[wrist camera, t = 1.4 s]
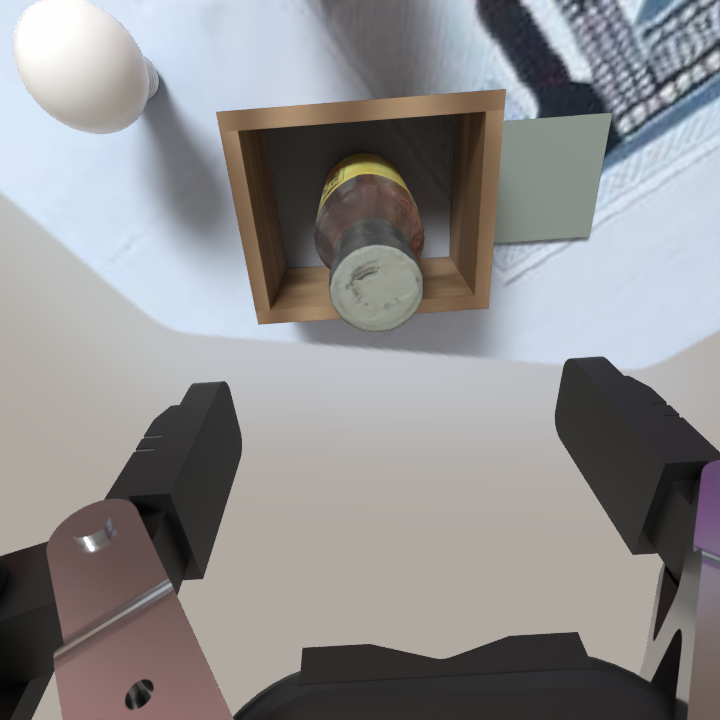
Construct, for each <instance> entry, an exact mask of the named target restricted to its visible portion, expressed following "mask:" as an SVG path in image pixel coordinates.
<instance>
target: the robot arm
mask: <svg viewBox="0 0 720 720" xmlns="http://www.w3.org/2000/svg"><path fill="white" fill-rule="evenodd" d="M555 425H556V430H557V432H558V436H559V438H560V440H561V441H562V443H563V445H564V446H565V448H566V449H567V451H568V453H569V454H570V456H571V457H572V459H573V460H574V462H575V464H576V465H577V467H578V468H579V470H580V472H581V473H582V475H583V476H584V478H585V480H586V481H587V483H588V484H589V486H590V488H591V489H592V491H593V492H594V494H595V496H596V497H597V499H598V500H599V502H600V504H601V505H602V507H603V508H604V510H605V511H606V513H607V514H608V516H609V518H610V519H611V521H612V523H613V524H614V526H615V527H616V529H617V531H618V532H619V534H620V535H621V537H622V539H623V540H624V542H625V543H626V545H627V546H628V548H629V550H630V551H631V553H632V554H633V555H638V554H654V553H658V554H659V556H660V557H661V559H662V560H663V562H664V563H663V566H662V568H661V571H660V573H659V579H658V584H657V590H656V596H655V601H654V607H653V613H652V618H651V624H650V630H649V635H648V641H647V647H646V652H645V657H644V661H643V664H642V668H641V671H640V674H639V676H638V675H637V674H635V673H633V672H631V671H629V670H626V669H624V668H622V667H620V666H617V665H615V664H612V663H609V662H606V661H603V660H600V659H597V658H594V657H589V656H588V655H587V653H586V651H585V648H584V646H583V644H582V641H581V639H580V636H579V634H578V632H570V633H553V634H536V635H519V636H508V637H505V638H503V639H500V640H497V641H494V642H492V643H489V644H486V645H483V646H481V647H478V648H475V649H472V650H470V651H467V652H464V653H461V654H459V655H456V656H453V657H450V658H447V659H435V658H430V657H426V656H421V655H417V654H412V653H408V652H403V651H399V650H394V649H390V648H385V647H380V646H376V645H372V644H363V645H345V646H328V647H310V648H303V650H302V661H301V671H299V672H296V673H294V674H291V675H289V676H287V677H285V678H283V679H281V680H279V681H277V682H275V683H273V684H272V685H270V686H269V687H267V688H266V689H264V690H263V691H261V692H260V693H258V694H257V695H256V696H255V697H254V698H252V699H251V700H250V701H249V702H248V703H246V704H245V705H244V706H243V707H242V708H241V709H240V710H239V711H238V712H237V713H236V714H235V715H234V716H233V717H232V714H231V712H230V710H229V708H228V706H227V703H226V701H225V699H224V697H223V695H222V693H221V690H220V688H219V686H218V684H217V682H216V680H215V677H214V675H213V673H212V671H211V669H210V666H209V664H208V662H207V660H206V658H205V656H204V653H203V651H202V649H201V647H200V645H199V643H198V640H197V638H196V636H195V634H194V632H193V629H192V627H191V625H190V623H189V621H188V619H187V616H186V615H185V612H184V610H183V608H182V606H181V603H180V601H179V599H178V597H177V595H178V592H179V589H180V586H181V583H182V581H183V580H195V579H203V577H204V574H205V571H206V568H207V564H208V561H209V558H210V555H211V552H212V548H213V545H214V542H215V539H216V536H217V532H218V529H219V526H220V523H221V519H222V516H223V513H224V509H225V506H226V503H227V500H228V497H229V493H230V490H231V487H232V484H233V481H234V478H235V474H236V471H237V468H238V464H239V461H240V458H241V452H242V438H241V432H240V428H239V424H238V420H237V416H236V412H235V408H234V404H233V400H232V396H231V392H230V389H229V386H228V384H227V383H226V382H224V381H223V382H208V383H194V384H192V385H191V386H190V388H189V389H188V391H187V393H186V395H185V396H184V398H183V400H182V402H181V404H180V405H175V406H170V407H169V408H168V409H167V410H165V411H164V412H163V413H162V414H160V415H159V416H158V417H157V418H156V419H154V421H153V422H152V424H151V425H150V427H149V428H148V430H147V432H146V433H145V435H144V439H142V440H141V441H140V443H139V445H138V446H137V448H136V452H134V453H133V454H132V456H131V458H130V459H129V461H128V462H127V464H126V465H125V467H124V469H123V470H122V472H121V473H120V475H119V477H118V478H117V480H116V481H115V483H114V485H113V486H112V488H111V489H110V491H109V493H108V494H107V496H106V497H105V499H104V500H102V501H98V502H95V503H92V504H90V505H88V506H85V507H83V508H82V509H80V510H78V511H76V512H75V513H73V514H72V515H70V516H69V517H68V518H67V519H65V520H64V521H63V522H62V523H61V524H60V525H59V526H58V527H57V528H56V530H55V531H54V532H53V534H52V535H51V537H50V539H49V541H48V542H45V543H42V544H38V545H35V546H32V547H29V548H25V549H22V550H19V551H15V552H13V553H9V554H6V555H3V556H0V720H31V719H32V717H33V715H34V713H35V710H36V709H37V706H38V704H39V702H40V700H41V698H42V696H43V694H44V691H45V689H46V687H47V685H48V683H49V681H50V679H51V677H52V675H53V672H54V671H55V675H56V682H57V688H58V694H59V700H60V706H61V712H62V717H63V720H720V452H719V451H718V450H717V449H716V448H715V447H714V446H713V445H711V444H710V443H709V442H708V441H707V440H706V439H705V438H704V437H703V436H702V435H701V434H700V433H699V432H697V431H696V429H694V428H693V427H692V426H691V425H690V424H689V423H688V422H687V421H686V420H685V419H684V418H680V417H679V413H677V412H676V411H675V410H674V409H673V408H672V407H671V406H670V405H667V404H666V401H665V400H664V399H663V398H662V397H660V396H659V395H658V394H657V393H656V392H655V391H654V390H653V389H652V388H651V387H649V386H647V385H645V384H643V383H641V382H639V381H638V380H635V379H634V378H632V377H630V376H624V375H623V374H622V373H621V372H620V371H619V370H618V369H616V368H615V367H614V366H613V365H612V364H611V363H610V362H609V361H608V360H607V359H606V358H605V357H586V358H572V359H568V360H567V361H566V362H565V364H564V367H563V372H562V378H561V383H560V388H559V394H558V399H557V405H556V410H555Z"/></svg>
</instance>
